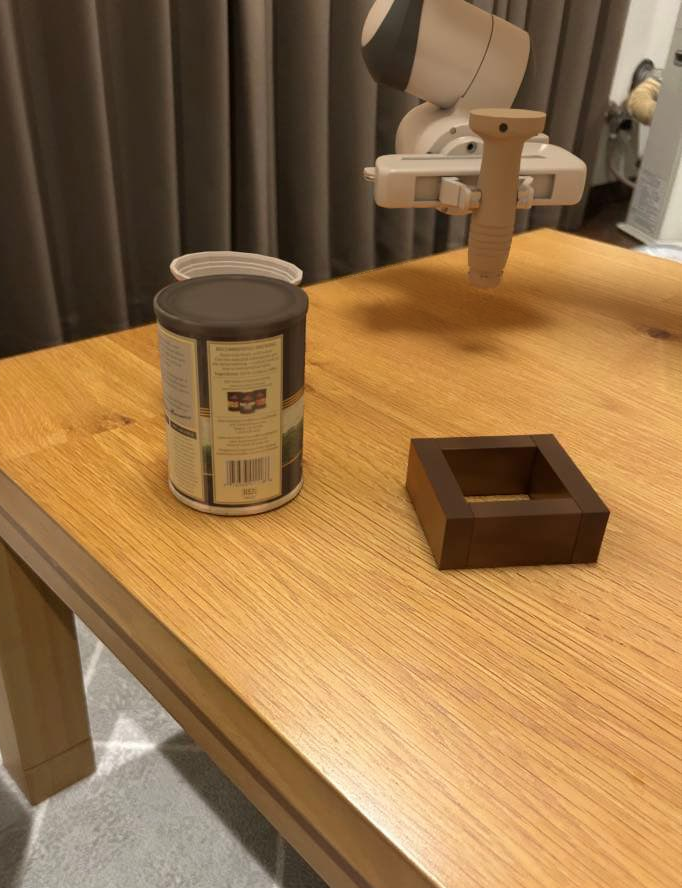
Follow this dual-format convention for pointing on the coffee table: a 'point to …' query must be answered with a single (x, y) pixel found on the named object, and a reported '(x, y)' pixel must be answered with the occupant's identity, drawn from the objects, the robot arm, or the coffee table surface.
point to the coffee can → (233, 390)
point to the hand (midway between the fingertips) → (499, 200)
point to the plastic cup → (233, 266)
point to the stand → (504, 502)
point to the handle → (497, 188)
